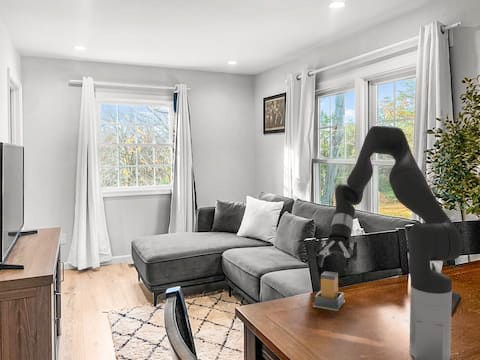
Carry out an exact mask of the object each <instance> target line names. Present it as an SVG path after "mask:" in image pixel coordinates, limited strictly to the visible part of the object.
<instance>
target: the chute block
mask: <svg viewBox="0 0 480 360" xmlns="http://www.w3.org/2000/svg"><path fill="white" fill-rule="evenodd" d="M320 290H321V297H325V298H332V299H337V298H338V292H339V273H338V272H337V271H336V272H334V271H327V270H324V271H323V272H322V273H321V274H320Z"/></svg>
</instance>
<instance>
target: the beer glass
mask: <svg viewBox="0 0 480 360" xmlns="http://www.w3.org/2000/svg"><path fill="white" fill-rule="evenodd" d="M443 263H444V262H443V261H430V267H431V270H433V271H436V272H439V273H442V270H443V269H442V268H443Z"/></svg>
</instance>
